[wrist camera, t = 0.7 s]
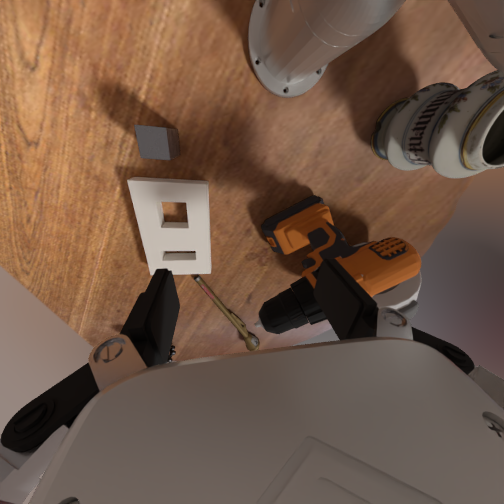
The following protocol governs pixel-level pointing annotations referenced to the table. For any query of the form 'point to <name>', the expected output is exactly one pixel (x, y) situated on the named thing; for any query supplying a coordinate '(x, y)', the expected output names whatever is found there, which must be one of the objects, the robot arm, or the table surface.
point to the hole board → (173, 224)
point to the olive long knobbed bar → (231, 317)
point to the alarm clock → (400, 295)
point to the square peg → (157, 142)
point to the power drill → (327, 246)
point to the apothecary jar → (445, 128)
